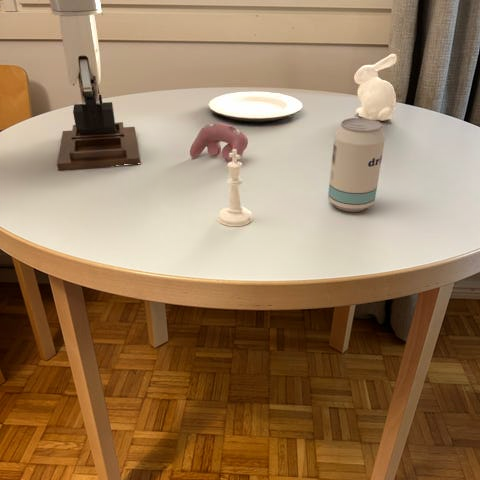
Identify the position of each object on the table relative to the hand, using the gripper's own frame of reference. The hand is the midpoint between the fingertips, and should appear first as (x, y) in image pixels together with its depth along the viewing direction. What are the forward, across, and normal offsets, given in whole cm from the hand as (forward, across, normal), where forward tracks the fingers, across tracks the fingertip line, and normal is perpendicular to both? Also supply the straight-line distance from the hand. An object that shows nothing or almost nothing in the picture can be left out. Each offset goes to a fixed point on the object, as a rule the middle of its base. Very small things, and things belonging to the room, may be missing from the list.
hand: (95, 122), depth 92 cm
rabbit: (+7, -15, +59) cm, 61 cm away
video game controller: (+7, +5, +21) cm, 22 cm away
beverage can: (+7, +28, +37) cm, 47 cm away
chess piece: (+6, +29, +19) cm, 35 cm away
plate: (+7, -22, +34) cm, 41 cm away
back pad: (0, 0, 0) cm, 0 cm away
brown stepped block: (+6, -4, 0) cm, 7 cm away
